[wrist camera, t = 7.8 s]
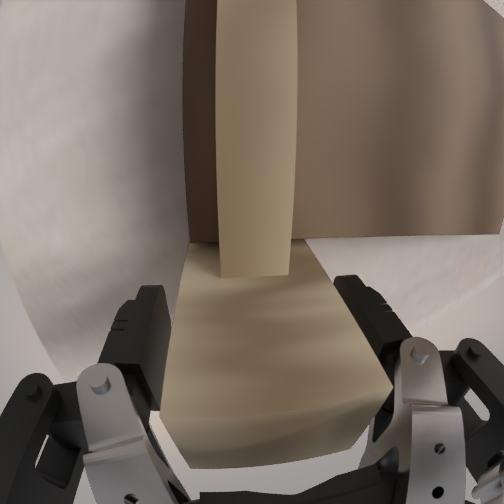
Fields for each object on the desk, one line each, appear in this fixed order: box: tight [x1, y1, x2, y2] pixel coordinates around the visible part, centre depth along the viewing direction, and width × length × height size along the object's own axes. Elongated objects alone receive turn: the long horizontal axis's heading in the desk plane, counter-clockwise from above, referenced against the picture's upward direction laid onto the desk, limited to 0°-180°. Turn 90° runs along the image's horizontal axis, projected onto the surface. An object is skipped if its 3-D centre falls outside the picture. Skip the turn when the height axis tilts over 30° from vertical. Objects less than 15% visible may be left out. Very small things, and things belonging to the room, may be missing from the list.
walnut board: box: [183, 0, 504, 243], centre depth 8 cm, size 17×14×2 cm
